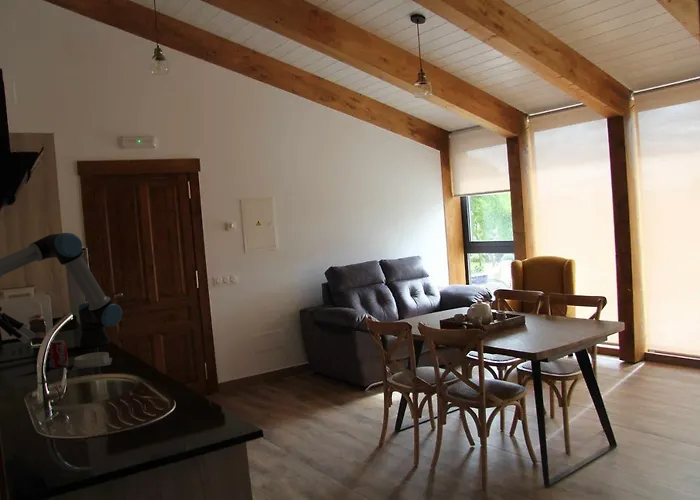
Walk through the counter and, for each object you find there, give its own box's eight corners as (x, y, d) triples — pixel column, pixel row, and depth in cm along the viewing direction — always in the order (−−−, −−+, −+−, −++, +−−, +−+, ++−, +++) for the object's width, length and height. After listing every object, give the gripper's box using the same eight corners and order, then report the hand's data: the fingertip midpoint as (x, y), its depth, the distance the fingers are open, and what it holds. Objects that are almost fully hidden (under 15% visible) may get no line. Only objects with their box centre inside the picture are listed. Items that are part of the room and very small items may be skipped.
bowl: (77, 363, 281) (76, 355, 281) (109, 358, 285) (109, 350, 285) (74, 369, 268) (73, 361, 267) (108, 364, 272) (107, 356, 272)
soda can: (71, 364, 280) (68, 338, 279) (63, 368, 273) (60, 342, 272) (57, 365, 281) (54, 339, 280) (48, 369, 274) (45, 343, 273)
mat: (75, 363, 282) (75, 363, 282) (112, 358, 287) (112, 357, 287) (71, 371, 266) (71, 370, 266) (110, 365, 271) (110, 364, 271)
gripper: (-11, 313, 278) (29, 341, 284) (-26, 320, 255) (19, 350, 260) (1, 300, 280) (40, 328, 285) (-13, 306, 256) (31, 336, 262)
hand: (30, 338), depth 273 cm, fingers open, 13 cm apart
